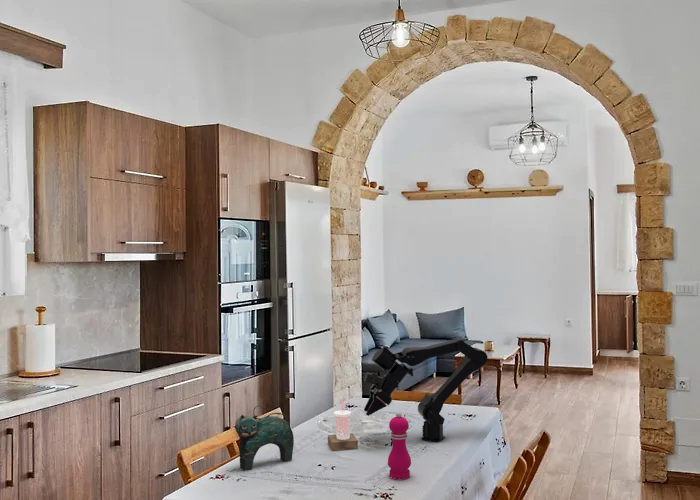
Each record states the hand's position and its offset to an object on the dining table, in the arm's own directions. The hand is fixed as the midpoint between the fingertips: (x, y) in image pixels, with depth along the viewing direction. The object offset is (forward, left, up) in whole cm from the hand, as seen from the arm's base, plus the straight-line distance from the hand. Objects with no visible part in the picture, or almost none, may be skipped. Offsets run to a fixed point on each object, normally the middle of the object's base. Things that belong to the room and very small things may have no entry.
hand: (365, 412), depth 257 cm
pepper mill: (-25, +24, -11) cm, 36 cm away
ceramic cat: (+19, +34, -11) cm, 40 cm away
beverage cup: (+6, +6, -8) cm, 12 cm away
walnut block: (+6, +6, -11) cm, 14 cm away
